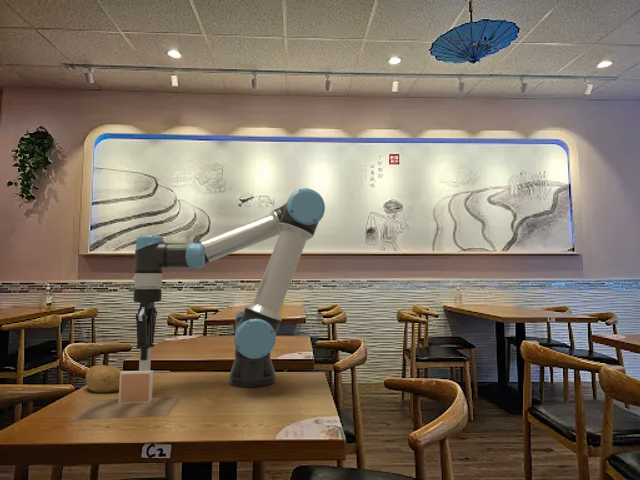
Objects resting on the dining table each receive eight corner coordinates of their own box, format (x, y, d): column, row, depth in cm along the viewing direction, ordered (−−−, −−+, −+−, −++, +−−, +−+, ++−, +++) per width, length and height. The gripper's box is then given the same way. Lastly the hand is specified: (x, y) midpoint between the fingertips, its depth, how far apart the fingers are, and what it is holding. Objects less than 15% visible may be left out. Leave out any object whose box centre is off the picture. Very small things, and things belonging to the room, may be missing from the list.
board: (181, 400, 113) (181, 396, 113) (167, 420, 97) (167, 415, 97) (97, 404, 110) (97, 399, 110) (69, 425, 94) (69, 419, 94)
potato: (102, 401, 113) (103, 372, 114) (76, 394, 120) (77, 366, 121) (134, 393, 121) (135, 365, 122) (108, 386, 128) (109, 361, 129)
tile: (151, 401, 109) (153, 370, 110) (150, 402, 107) (151, 371, 108) (120, 402, 108) (121, 371, 109) (118, 404, 106) (119, 372, 107)
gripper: (141, 287, 124) (138, 366, 122) (126, 288, 111) (122, 376, 109) (166, 287, 125) (164, 366, 123) (155, 288, 112) (151, 376, 110)
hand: (144, 371), depth 116 cm, fingers closed
